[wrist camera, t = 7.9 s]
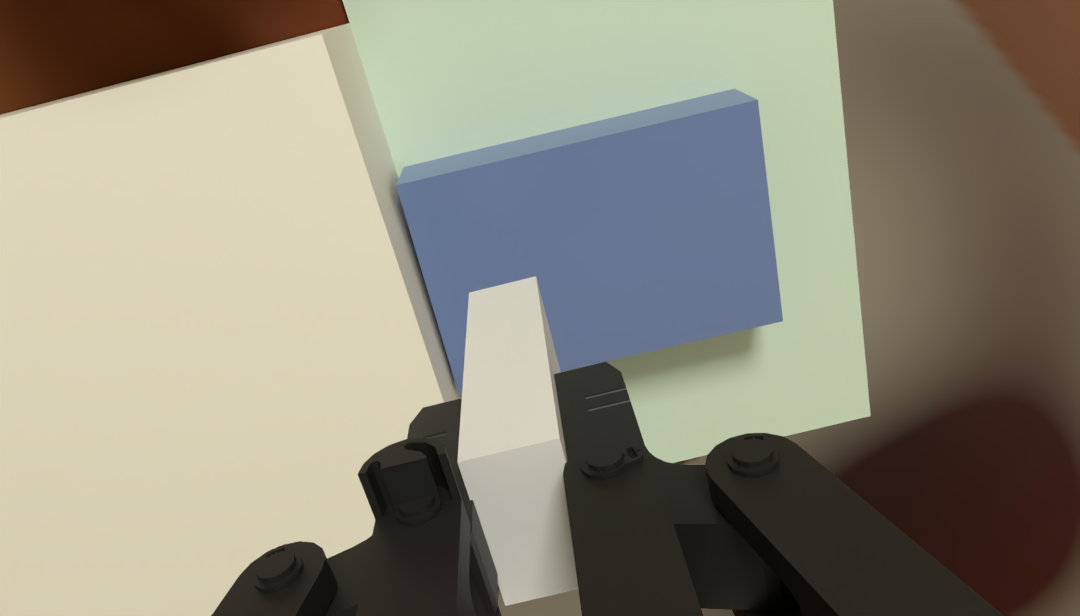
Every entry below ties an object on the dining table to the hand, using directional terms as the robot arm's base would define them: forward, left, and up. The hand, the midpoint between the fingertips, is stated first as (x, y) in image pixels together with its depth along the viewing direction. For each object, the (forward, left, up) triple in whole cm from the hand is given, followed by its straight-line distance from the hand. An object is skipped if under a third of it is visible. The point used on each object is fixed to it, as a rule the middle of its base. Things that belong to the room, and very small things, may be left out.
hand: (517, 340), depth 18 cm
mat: (+4, 0, -6) cm, 7 cm away
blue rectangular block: (+2, 0, -5) cm, 6 cm away
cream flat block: (-10, 0, -6) cm, 12 cm away
